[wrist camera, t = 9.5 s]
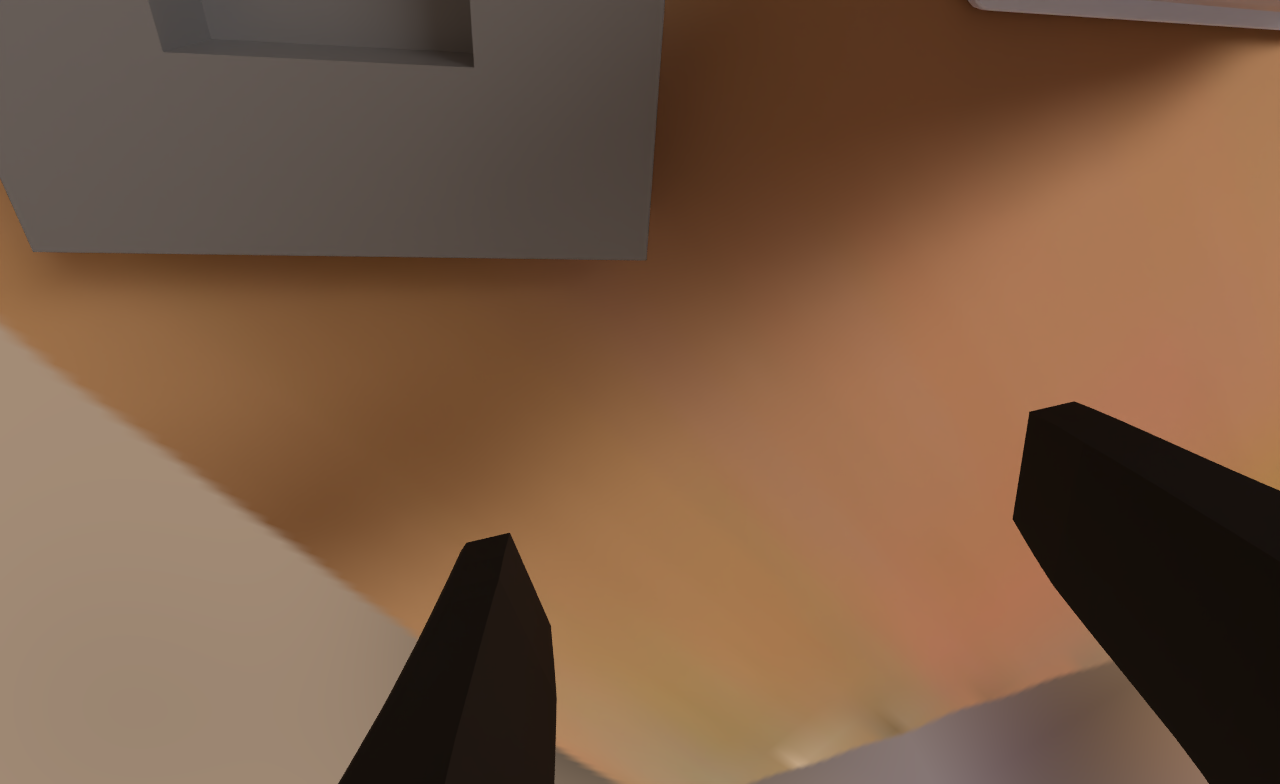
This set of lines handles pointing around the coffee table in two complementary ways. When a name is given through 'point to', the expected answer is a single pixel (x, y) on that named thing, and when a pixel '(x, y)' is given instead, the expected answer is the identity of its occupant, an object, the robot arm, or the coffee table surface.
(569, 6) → the block
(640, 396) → the coffee table surface
